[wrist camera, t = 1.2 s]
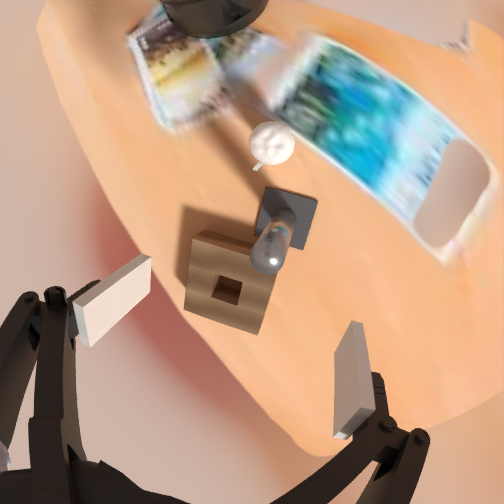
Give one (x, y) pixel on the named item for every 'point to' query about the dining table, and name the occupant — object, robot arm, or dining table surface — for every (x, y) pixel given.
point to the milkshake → (271, 143)
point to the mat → (296, 203)
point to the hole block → (220, 297)
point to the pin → (273, 243)
